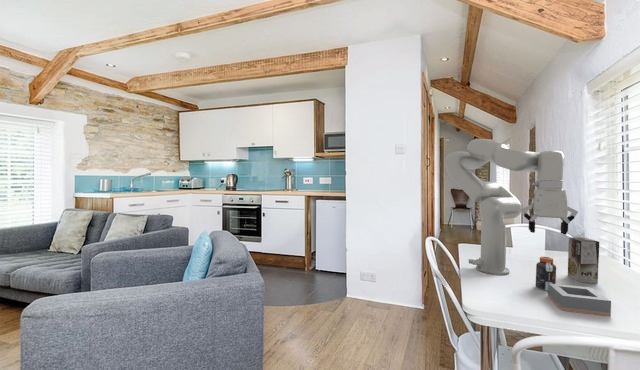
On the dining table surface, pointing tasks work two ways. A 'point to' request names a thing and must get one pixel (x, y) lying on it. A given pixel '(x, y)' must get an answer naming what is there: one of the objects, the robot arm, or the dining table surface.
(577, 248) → the coffee box
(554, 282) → the pill bottle
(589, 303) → the grey square frame
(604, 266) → the dining table surface
